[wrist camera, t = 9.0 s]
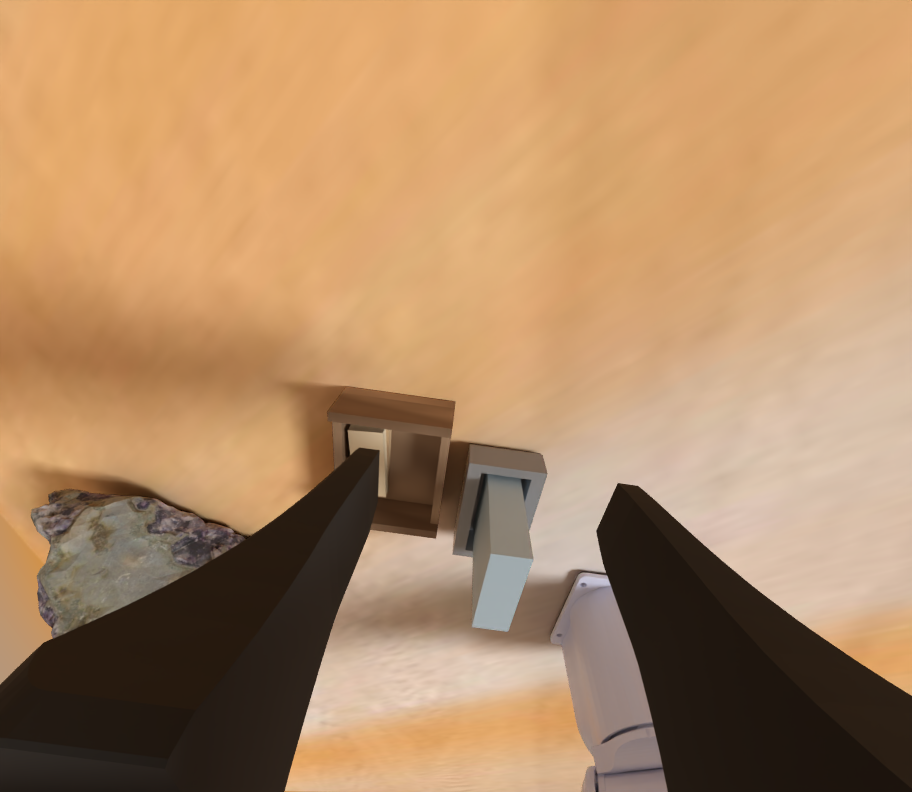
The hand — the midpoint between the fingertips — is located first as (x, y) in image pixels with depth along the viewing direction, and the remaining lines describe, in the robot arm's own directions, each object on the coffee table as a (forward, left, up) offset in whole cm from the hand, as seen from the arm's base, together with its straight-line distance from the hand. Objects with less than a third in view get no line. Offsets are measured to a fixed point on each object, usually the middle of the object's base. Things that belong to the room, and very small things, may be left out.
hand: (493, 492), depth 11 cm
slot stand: (-10, -2, -10) cm, 14 cm away
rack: (-7, +5, -10) cm, 13 cm away
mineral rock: (-16, +20, -11) cm, 28 cm away
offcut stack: (-7, +6, -10) cm, 13 cm away
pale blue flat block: (-10, -2, -10) cm, 14 cm away
